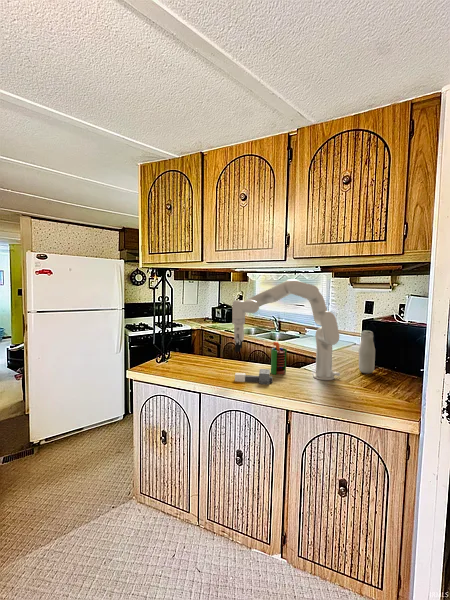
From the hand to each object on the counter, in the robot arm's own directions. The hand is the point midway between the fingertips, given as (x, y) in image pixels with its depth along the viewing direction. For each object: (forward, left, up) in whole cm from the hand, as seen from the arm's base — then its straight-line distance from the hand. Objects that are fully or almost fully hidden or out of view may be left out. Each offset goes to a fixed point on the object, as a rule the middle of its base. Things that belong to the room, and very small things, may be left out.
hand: (238, 349), depth 198 cm
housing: (-16, 0, -18) cm, 24 cm away
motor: (-24, -20, -19) cm, 36 cm away
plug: (-9, 0, -19) cm, 21 cm away
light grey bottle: (-81, -30, -19) cm, 88 cm away
